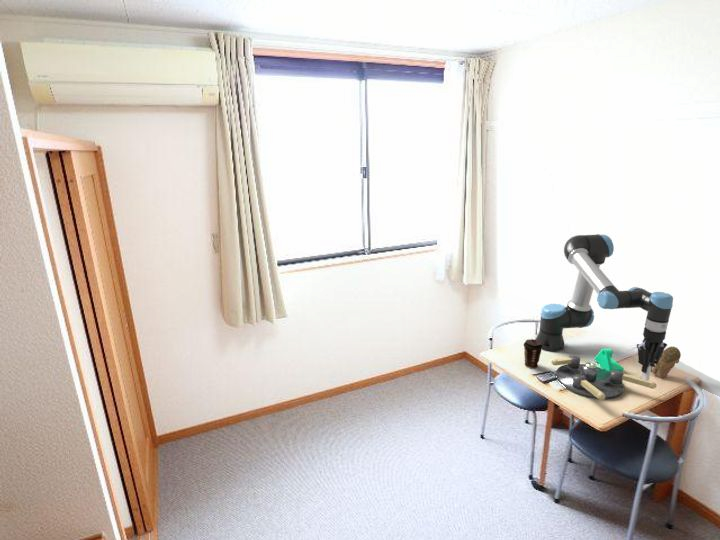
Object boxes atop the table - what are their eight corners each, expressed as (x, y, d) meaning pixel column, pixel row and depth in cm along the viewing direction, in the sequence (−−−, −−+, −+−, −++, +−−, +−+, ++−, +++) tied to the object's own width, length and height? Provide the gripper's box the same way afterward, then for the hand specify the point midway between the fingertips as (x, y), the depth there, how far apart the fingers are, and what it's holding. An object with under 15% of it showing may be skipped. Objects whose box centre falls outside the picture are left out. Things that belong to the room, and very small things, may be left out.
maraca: (574, 363, 207) (575, 354, 206) (581, 368, 203) (582, 359, 201) (548, 366, 205) (549, 357, 204) (554, 371, 200) (555, 362, 199)
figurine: (649, 374, 200) (654, 345, 196) (661, 370, 203) (666, 343, 199) (666, 382, 193) (672, 353, 189) (678, 379, 195) (685, 350, 191)
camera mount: (623, 373, 202) (627, 354, 199) (608, 374, 202) (611, 355, 199) (608, 361, 213) (611, 343, 211) (594, 362, 213) (597, 343, 210)
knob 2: (608, 382, 190) (609, 372, 189) (610, 377, 194) (612, 368, 192) (654, 395, 179) (656, 385, 178) (655, 390, 183) (657, 380, 181)
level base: (543, 370, 206) (545, 352, 203) (593, 364, 210) (596, 347, 208) (581, 402, 179) (584, 382, 177) (638, 395, 184) (642, 375, 181)
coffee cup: (533, 360, 216) (535, 337, 212) (544, 367, 208) (546, 344, 205) (518, 362, 214) (520, 339, 210) (529, 370, 206) (531, 346, 203)
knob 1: (570, 383, 189) (571, 374, 188) (579, 382, 190) (581, 373, 189) (597, 406, 173) (598, 395, 171) (608, 404, 174) (609, 394, 172)
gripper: (649, 334, 168) (638, 385, 175) (676, 331, 170) (665, 381, 177) (634, 326, 175) (624, 375, 182) (661, 323, 177) (650, 372, 184)
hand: (644, 378), depth 179 cm, fingers closed
